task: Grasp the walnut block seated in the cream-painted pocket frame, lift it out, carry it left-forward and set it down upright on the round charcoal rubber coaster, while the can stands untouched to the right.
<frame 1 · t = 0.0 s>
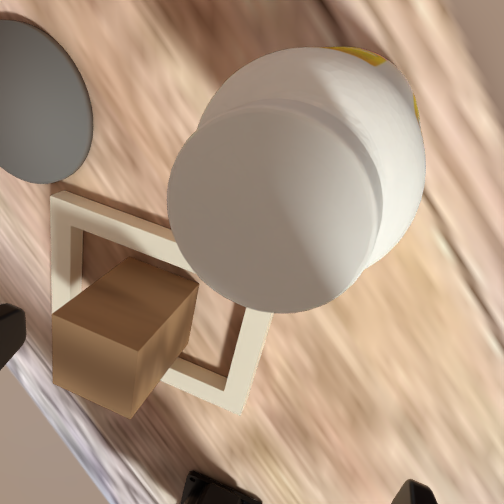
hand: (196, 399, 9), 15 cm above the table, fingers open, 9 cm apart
supplement bottle: (343, 125, 20), on the table
coaster: (28, 107, 25), on the table
pocket frame: (159, 301, 28), on the table
block: (159, 300, 28), resting in pocket frame
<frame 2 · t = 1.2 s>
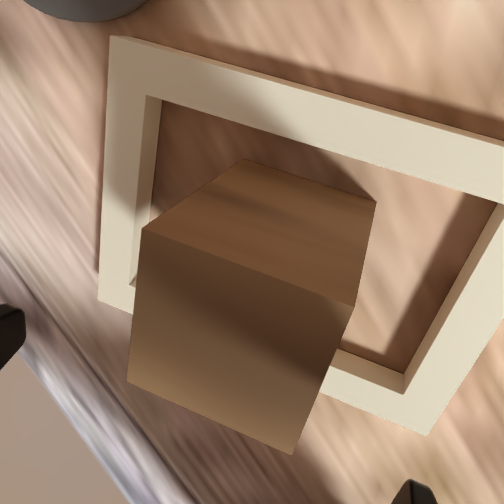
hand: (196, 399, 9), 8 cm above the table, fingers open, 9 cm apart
pocket frame: (289, 240, 16), on the table
block: (290, 239, 16), resting in pocket frame
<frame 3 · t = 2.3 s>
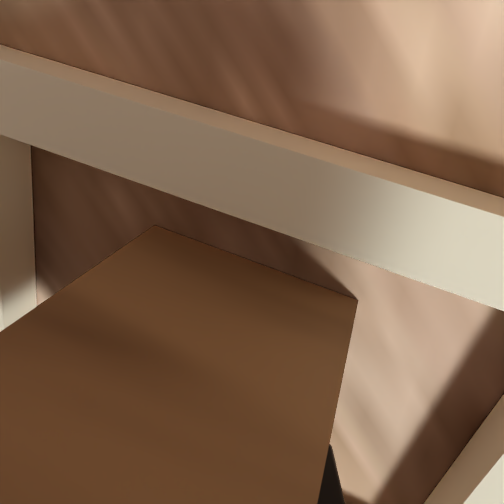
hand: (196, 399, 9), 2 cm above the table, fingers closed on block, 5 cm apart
pocket frame: (230, 343, 11), on the table
block: (230, 342, 11), resting in pocket frame, touching gripper
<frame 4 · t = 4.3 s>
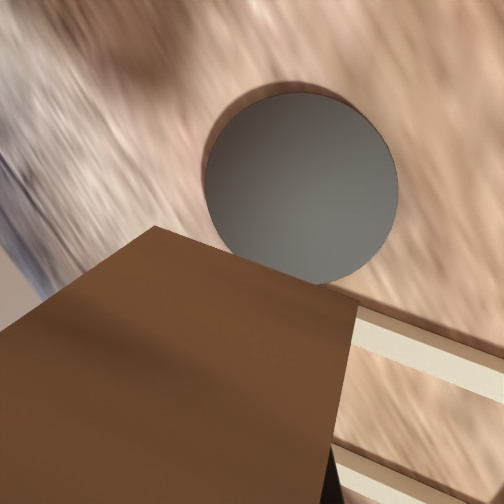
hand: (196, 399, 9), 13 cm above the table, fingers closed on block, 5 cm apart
coaster: (297, 194, 20), on the table
pocket frame: (423, 425, 23), on the table
block: (231, 343, 11), point 11 cm above the table, touching gripper
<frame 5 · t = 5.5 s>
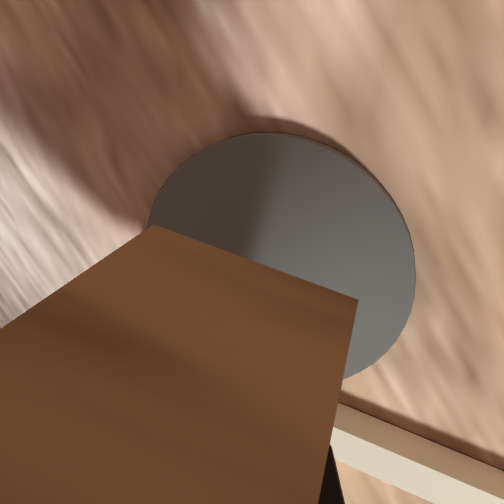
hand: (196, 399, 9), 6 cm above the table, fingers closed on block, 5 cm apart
coaster: (273, 268, 14), on the table
block: (230, 342, 11), point 4 cm above the table, touching gripper
when the fingers open (4 cm above the table, at t = 6.4 s): block stays where it is, resting on coaster.
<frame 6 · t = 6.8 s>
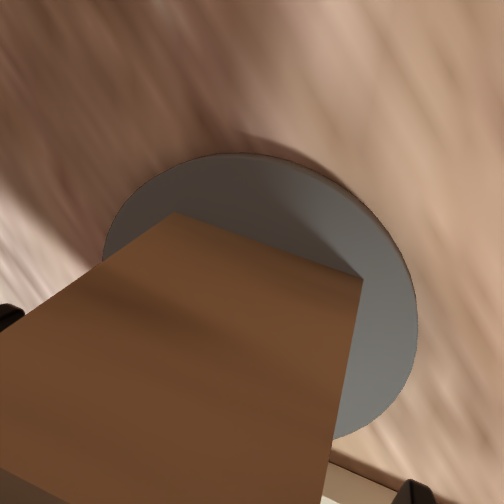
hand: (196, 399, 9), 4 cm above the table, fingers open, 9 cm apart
coaster: (249, 310, 12), on the table
block: (244, 322, 12), point 1 cm above the table, touching coaster
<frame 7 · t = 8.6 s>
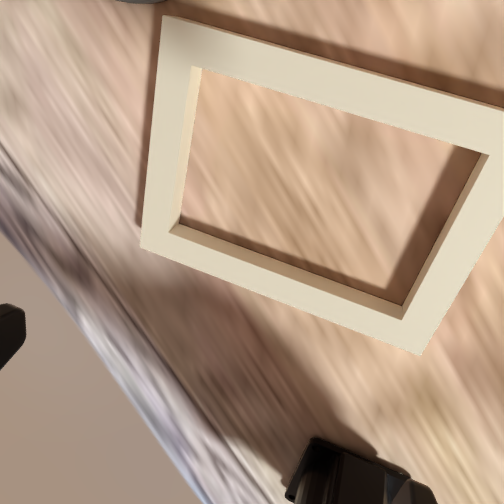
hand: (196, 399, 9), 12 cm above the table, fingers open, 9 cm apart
pocket frame: (308, 191, 19), on the table
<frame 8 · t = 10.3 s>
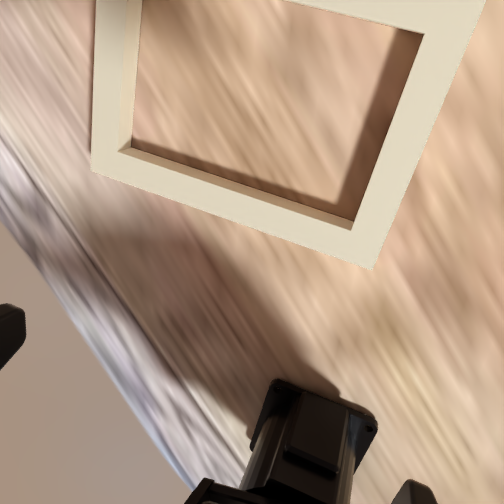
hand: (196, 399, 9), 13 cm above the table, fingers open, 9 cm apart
pocket frame: (254, 99, 19), on the table
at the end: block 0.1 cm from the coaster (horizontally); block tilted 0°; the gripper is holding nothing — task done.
